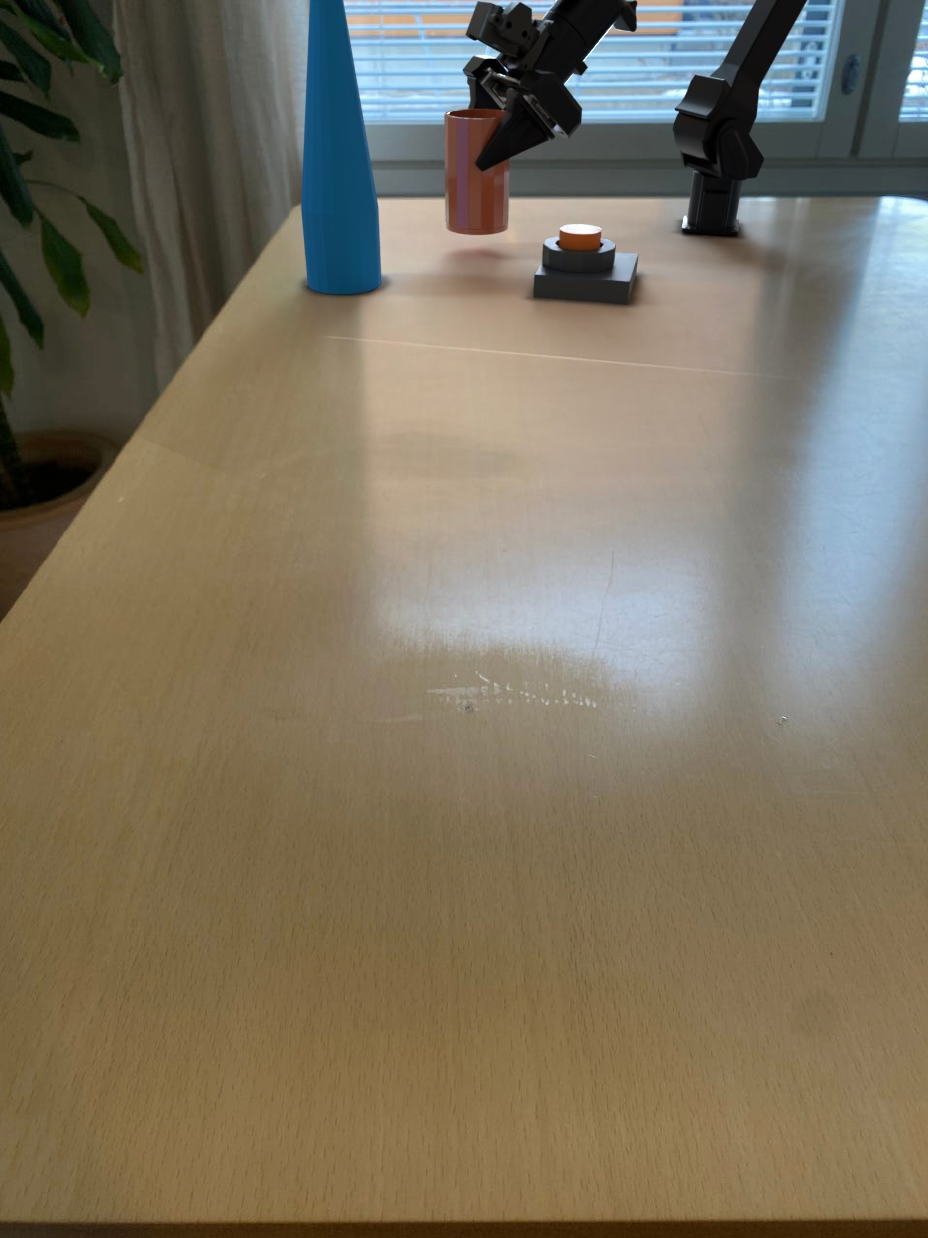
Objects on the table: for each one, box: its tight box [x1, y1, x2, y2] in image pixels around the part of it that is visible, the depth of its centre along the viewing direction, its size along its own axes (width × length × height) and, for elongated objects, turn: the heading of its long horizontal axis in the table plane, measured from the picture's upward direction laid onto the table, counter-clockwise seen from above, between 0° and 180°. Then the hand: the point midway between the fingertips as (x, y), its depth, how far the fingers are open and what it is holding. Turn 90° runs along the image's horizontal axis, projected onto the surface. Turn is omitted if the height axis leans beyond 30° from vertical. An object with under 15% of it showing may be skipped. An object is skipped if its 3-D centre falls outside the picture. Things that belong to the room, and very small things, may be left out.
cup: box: [443, 108, 512, 236], centre depth 99 cm, size 7×7×11 cm
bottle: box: [300, 0, 383, 295], centre depth 85 cm, size 7×7×30 cm
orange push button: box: [558, 223, 602, 250], centre depth 91 cm, size 4×4×2 cm
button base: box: [532, 235, 639, 306], centre depth 92 cm, size 10×9×4 cm
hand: (465, 161), depth 98 cm, fingers closed on cup, 7 cm apart
